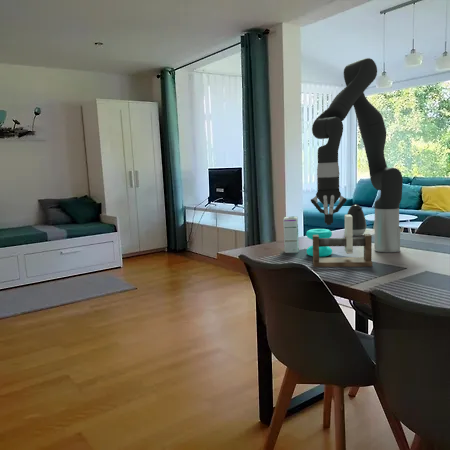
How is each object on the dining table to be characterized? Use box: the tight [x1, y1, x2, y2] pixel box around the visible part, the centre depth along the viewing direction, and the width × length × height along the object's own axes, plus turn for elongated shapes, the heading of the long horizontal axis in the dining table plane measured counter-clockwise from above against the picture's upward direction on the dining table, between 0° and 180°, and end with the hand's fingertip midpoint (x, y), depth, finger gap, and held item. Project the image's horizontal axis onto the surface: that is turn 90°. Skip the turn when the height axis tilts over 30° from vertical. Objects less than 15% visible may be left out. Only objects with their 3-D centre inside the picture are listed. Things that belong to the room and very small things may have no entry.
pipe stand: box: [312, 233, 374, 268], centre depth 155 cm, size 20×8×10 cm, turn 81°
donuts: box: [305, 228, 333, 258], centre depth 172 cm, size 10×10×10 cm
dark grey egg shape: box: [346, 204, 367, 237], centre depth 212 cm, size 10×10×15 cm
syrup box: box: [282, 216, 300, 254], centre depth 180 cm, size 6×6×14 cm
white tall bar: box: [344, 214, 354, 255], centre depth 154 cm, size 2×7×13 cm, turn 171°
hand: (328, 224), depth 154 cm, fingers closed
